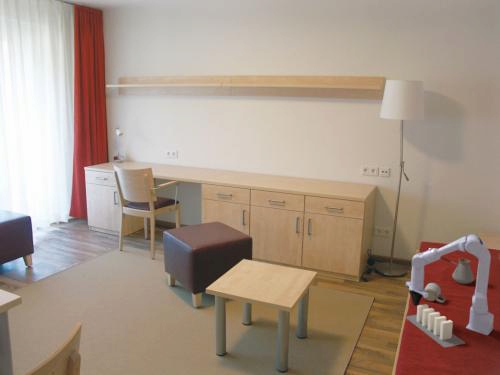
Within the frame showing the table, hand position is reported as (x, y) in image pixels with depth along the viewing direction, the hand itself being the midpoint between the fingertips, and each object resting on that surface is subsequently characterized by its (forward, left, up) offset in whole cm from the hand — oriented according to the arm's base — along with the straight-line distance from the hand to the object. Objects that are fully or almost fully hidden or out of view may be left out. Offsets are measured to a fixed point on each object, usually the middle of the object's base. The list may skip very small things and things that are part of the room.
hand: (415, 305), depth 211 cm
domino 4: (-15, +9, -6) cm, 18 cm away
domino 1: (-4, +3, -6) cm, 8 cm away
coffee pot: (+1, -55, -6) cm, 56 cm away
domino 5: (-18, +11, -6) cm, 22 cm away
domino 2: (-8, +5, -6) cm, 11 cm away
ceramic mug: (0, -24, -6) cm, 25 cm away
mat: (-11, +7, -6) cm, 14 cm away
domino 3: (-11, +7, -6) cm, 14 cm away
